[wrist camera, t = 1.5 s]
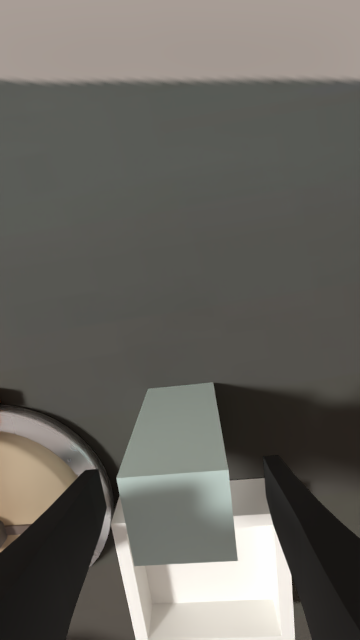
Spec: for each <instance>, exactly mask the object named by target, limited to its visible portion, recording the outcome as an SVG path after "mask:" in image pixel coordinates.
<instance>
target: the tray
mask: <svg viewBox="0 0 360 640" xmlns="http://www.w3.org/2000/svg"><path fill="white" fill-rule="evenodd" d="M230 490H231V500H232V510H233V519H234V529H235V538H236V548H237V557H238V561H227V562H207V563H187V564H167V565H148V566H134V562H133V558H132V553H131V548H130V543H129V538H128V533H127V528H126V523H125V518H124V513H123V508H122V503H121V499H120V496H119V499H118V502H117V505H116V509H115V512H114V515H113V518H112V521H111V527H112V532H113V537H114V541H115V546H116V550H117V555H118V560H119V564H120V569H121V573H122V578H123V583H124V587H125V592H126V596H127V601H128V606H129V610H130V615H131V619H132V624H133V629H134V633H135V638H136V640H295V632H294V614H293V595H292V577H291V573H290V570H289V567H288V564H287V562H286V559H285V556H284V553H283V551H282V548H281V545H280V542H279V540H278V537H277V534H276V531H275V528H274V526H273V522H272V519H271V515H270V511H269V507H268V503H267V499H266V491H265V478H258V479H245V480H231V481H230Z"/></svg>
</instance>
